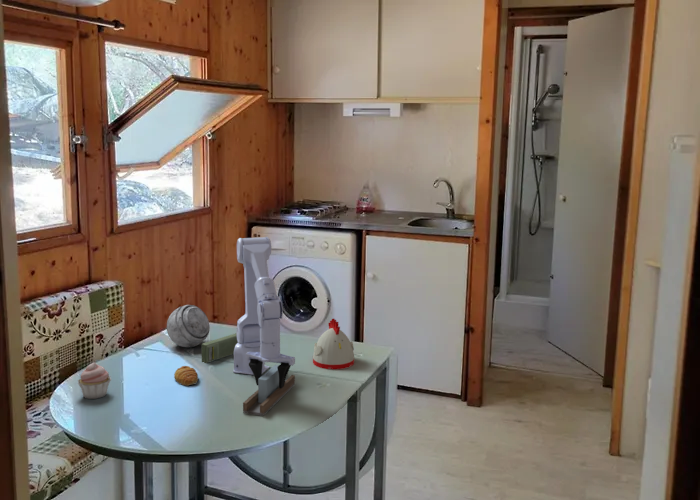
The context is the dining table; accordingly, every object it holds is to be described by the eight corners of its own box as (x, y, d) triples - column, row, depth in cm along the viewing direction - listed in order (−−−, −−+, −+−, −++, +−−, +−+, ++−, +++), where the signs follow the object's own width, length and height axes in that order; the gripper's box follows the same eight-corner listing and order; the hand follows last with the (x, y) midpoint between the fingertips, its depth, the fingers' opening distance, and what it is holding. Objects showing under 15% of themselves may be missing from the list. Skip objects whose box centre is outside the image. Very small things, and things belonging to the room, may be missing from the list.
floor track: (243, 413, 187) (243, 402, 187) (276, 382, 210) (276, 373, 209) (263, 416, 186) (263, 405, 185) (295, 384, 208) (295, 375, 208)
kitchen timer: (321, 371, 220) (321, 327, 217) (307, 358, 232) (307, 315, 229) (360, 366, 225) (361, 322, 222) (344, 353, 238) (345, 311, 235)
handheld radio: (200, 361, 227) (254, 343, 247) (206, 364, 225) (260, 346, 245) (200, 343, 226) (254, 326, 245) (206, 345, 224) (261, 328, 243)
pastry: (203, 384, 208) (202, 372, 207) (181, 389, 204) (180, 376, 204) (193, 374, 216) (192, 363, 215) (172, 378, 212) (171, 367, 212)
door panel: (258, 402, 193) (258, 379, 191) (274, 387, 204) (274, 364, 203) (266, 403, 192) (266, 380, 191) (282, 388, 203) (282, 365, 202)
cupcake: (109, 400, 194) (107, 367, 192) (75, 402, 193) (72, 368, 191) (115, 388, 203) (113, 356, 202) (82, 389, 202) (80, 357, 200)
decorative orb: (191, 355, 233) (190, 313, 230) (158, 349, 239) (156, 307, 236) (217, 343, 246) (216, 303, 243) (185, 337, 252) (184, 298, 249)
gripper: (240, 342, 193) (241, 387, 195) (288, 347, 189) (288, 393, 191) (251, 335, 199) (251, 379, 202) (297, 340, 195) (297, 384, 198)
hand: (270, 385), depth 197 cm, fingers open, 6 cm apart
